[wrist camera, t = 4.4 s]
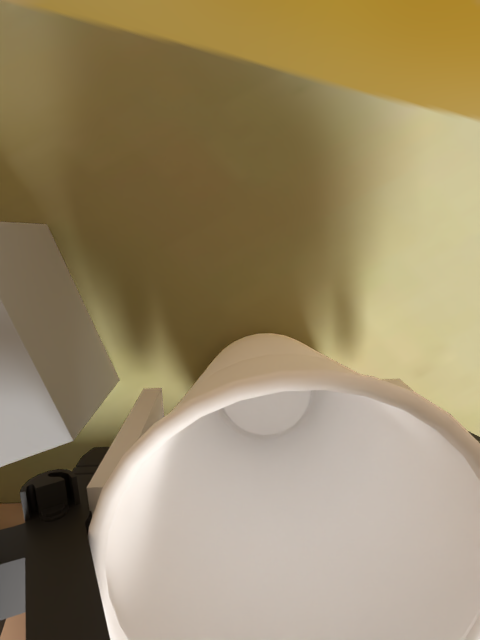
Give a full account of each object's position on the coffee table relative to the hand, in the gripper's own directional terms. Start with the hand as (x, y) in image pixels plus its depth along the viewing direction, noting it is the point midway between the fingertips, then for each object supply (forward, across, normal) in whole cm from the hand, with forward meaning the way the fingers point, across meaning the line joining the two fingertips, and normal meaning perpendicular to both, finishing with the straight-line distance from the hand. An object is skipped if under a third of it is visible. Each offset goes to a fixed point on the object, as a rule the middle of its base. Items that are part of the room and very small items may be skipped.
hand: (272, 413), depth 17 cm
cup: (+3, 0, 0) cm, 3 cm away
